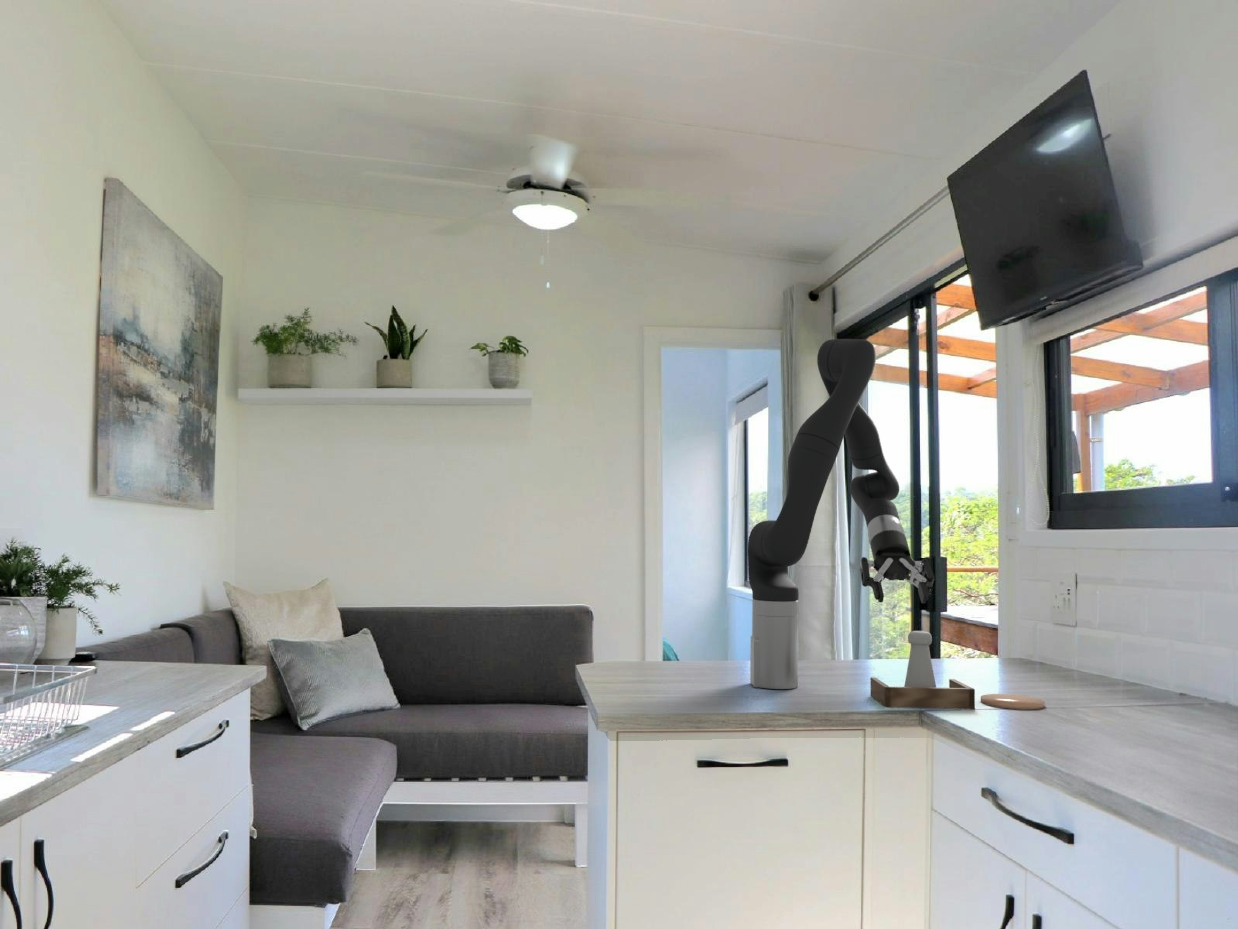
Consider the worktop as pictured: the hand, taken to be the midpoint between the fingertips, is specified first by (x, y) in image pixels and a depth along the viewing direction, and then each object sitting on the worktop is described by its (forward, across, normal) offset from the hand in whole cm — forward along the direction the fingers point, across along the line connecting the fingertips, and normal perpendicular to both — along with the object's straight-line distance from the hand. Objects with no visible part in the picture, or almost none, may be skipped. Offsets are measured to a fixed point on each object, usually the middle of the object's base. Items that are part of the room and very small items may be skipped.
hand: (903, 600), depth 190 cm
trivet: (+21, +17, +4) cm, 27 cm away
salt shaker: (+21, 0, +4) cm, 21 cm away
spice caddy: (+21, 0, +4) cm, 21 cm away
